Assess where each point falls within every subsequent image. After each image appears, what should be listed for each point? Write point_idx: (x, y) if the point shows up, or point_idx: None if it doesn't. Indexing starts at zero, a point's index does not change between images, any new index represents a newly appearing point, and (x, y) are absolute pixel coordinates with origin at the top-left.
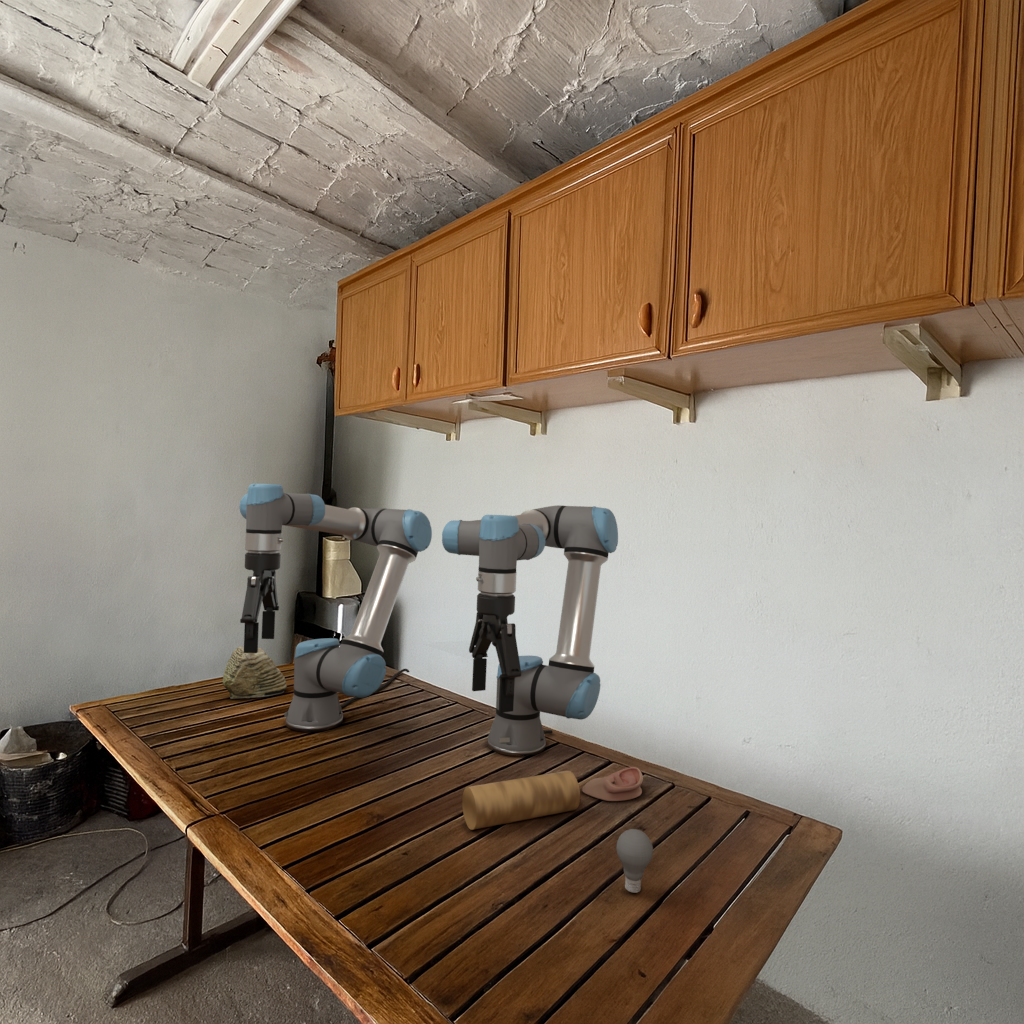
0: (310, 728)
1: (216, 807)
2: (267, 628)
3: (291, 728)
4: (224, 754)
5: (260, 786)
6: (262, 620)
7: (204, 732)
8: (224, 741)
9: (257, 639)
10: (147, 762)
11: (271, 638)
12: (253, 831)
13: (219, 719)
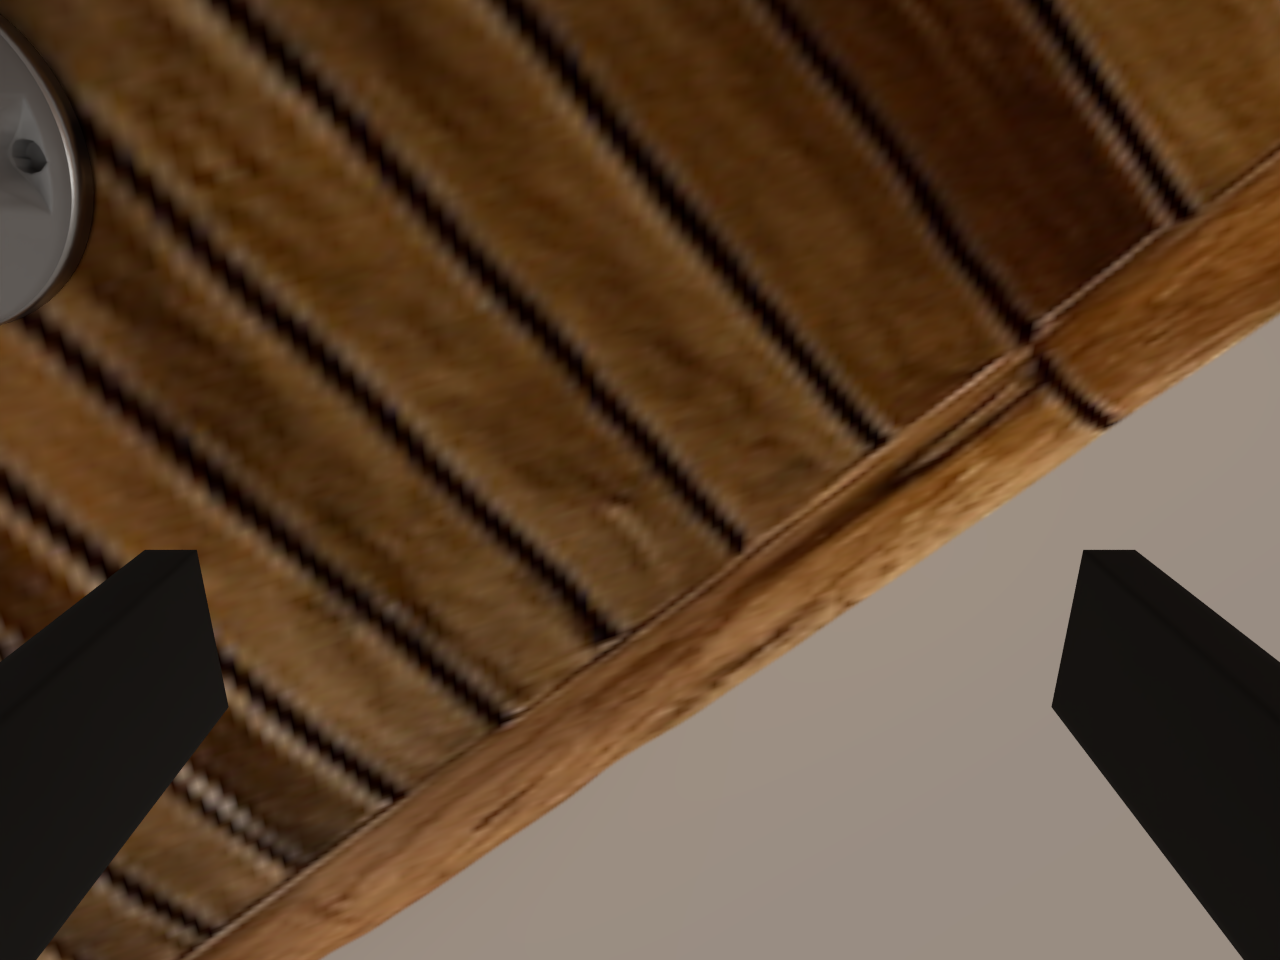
0: (73, 146)
1: (974, 373)
2: (116, 742)
3: (70, 271)
4: (442, 508)
5: (792, 245)
6: (41, 946)
7: None
8: (291, 555)
9: (1248, 660)
10: (542, 757)
11: (198, 580)
12: (1218, 155)
13: None
